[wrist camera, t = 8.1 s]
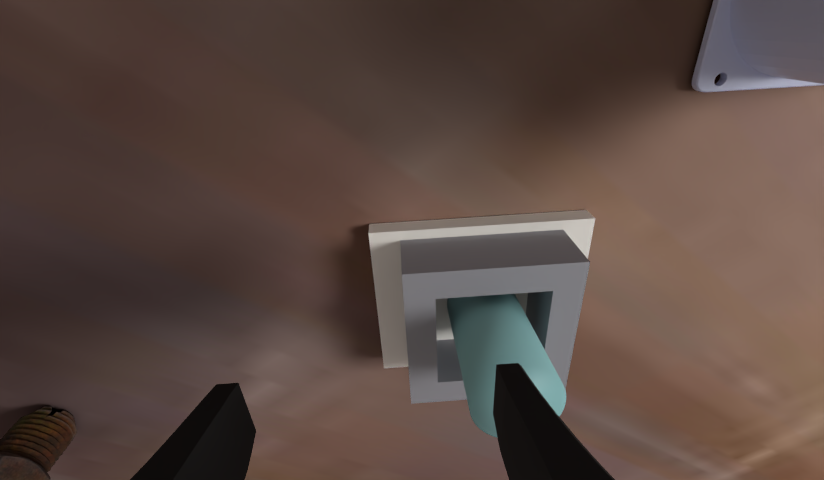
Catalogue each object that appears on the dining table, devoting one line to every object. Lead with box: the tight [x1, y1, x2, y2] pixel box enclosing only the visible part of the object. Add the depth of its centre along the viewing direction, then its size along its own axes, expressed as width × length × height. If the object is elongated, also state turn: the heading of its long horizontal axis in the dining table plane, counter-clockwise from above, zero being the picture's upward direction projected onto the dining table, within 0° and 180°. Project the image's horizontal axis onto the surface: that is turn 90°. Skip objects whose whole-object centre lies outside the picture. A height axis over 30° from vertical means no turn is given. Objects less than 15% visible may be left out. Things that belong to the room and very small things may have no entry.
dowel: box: [447, 294, 566, 437], centre depth 18 cm, size 4×4×7 cm
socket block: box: [368, 210, 595, 403], centre depth 20 cm, size 11×9×4 cm
